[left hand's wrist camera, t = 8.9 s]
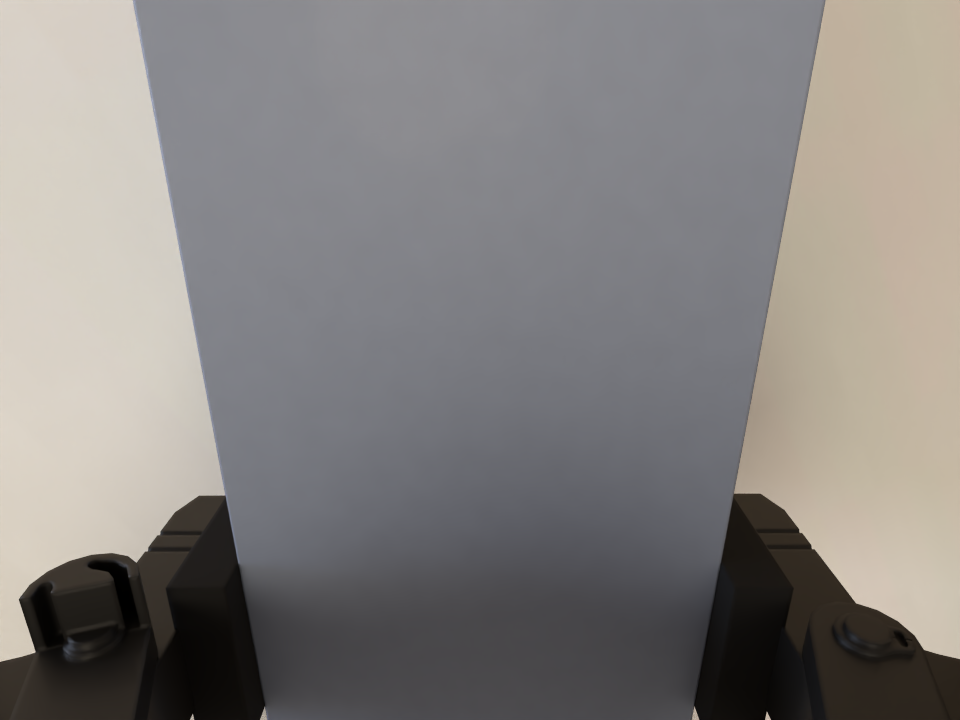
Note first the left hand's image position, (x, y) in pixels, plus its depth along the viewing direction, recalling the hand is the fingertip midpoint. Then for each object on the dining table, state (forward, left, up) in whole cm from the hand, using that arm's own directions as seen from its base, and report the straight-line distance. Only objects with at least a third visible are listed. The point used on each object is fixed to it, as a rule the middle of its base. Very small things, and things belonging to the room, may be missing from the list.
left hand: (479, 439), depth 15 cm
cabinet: (+5, -1, -4) cm, 7 cm away
